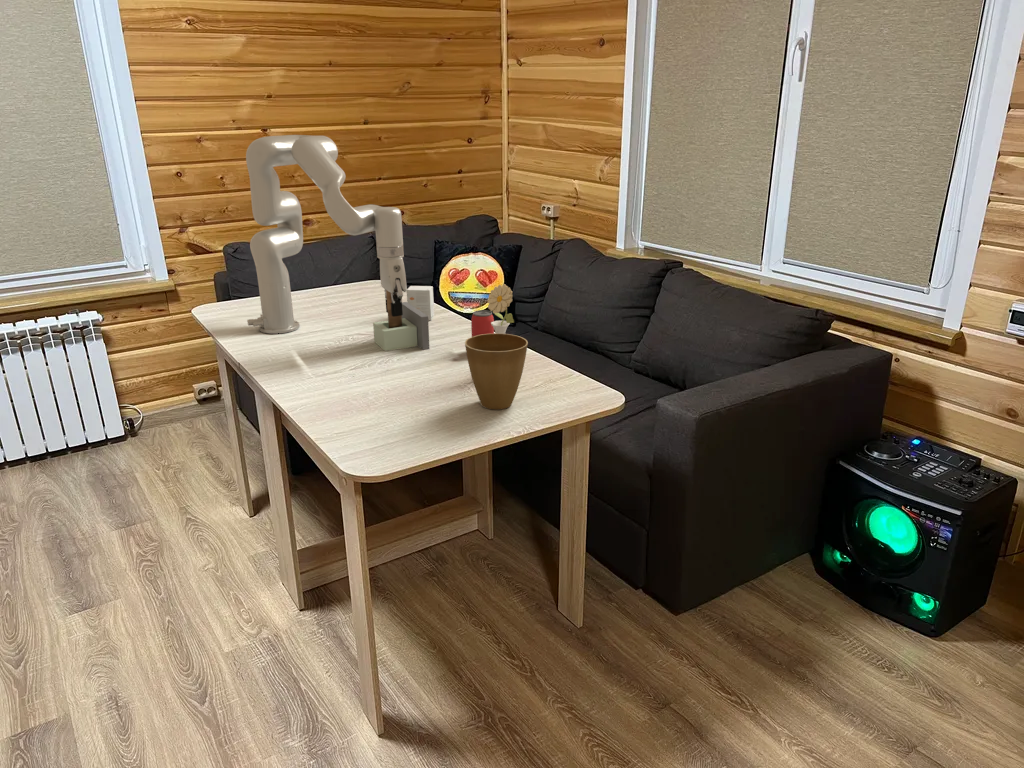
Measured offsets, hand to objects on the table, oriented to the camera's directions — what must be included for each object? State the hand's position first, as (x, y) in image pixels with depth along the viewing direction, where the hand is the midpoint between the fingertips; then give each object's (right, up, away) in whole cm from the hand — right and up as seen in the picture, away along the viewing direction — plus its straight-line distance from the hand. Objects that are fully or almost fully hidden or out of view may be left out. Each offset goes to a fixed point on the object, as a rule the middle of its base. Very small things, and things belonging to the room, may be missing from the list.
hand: (394, 313), depth 220 cm
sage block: (0, -9, +4) cm, 9 cm away
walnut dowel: (0, -4, +2) cm, 4 cm away
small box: (+4, +1, +33) cm, 34 cm away
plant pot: (+31, -26, -37) cm, 54 cm away
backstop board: (-4, -10, +2) cm, 11 cm away
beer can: (+26, -12, 0) cm, 29 cm away
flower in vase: (+32, -18, -16) cm, 40 cm away
